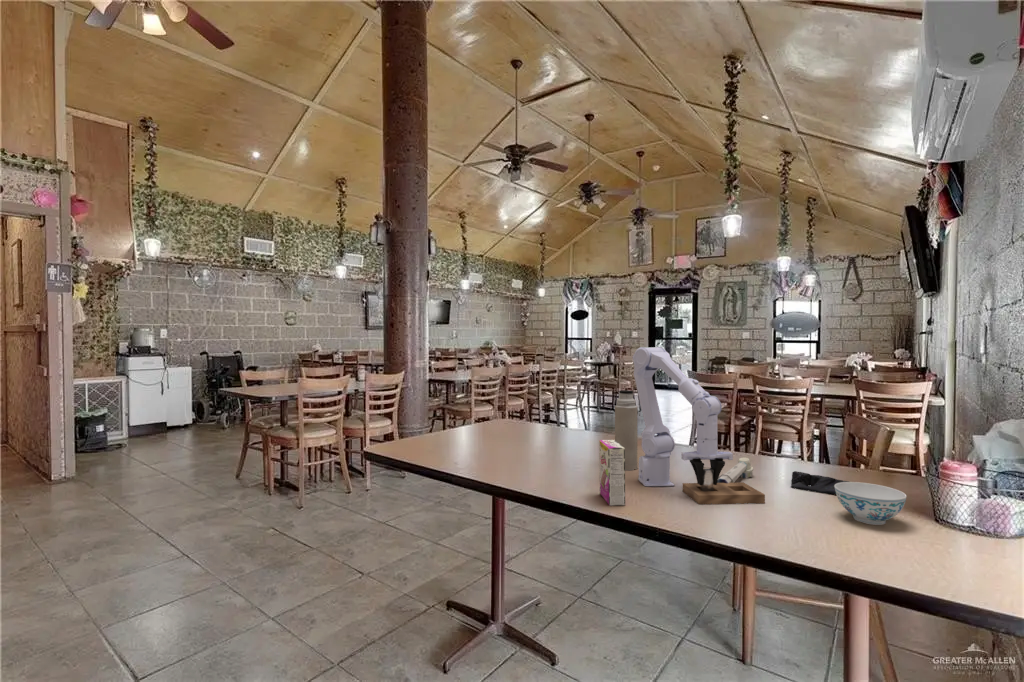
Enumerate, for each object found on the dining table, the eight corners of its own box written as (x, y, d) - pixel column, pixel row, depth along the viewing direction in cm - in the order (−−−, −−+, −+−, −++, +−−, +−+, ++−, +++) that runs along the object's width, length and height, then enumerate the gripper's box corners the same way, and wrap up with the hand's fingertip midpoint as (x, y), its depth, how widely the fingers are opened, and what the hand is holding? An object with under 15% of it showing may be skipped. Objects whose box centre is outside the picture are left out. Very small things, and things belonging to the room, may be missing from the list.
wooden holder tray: (698, 504, 140) (698, 495, 140) (682, 491, 152) (682, 483, 152) (764, 503, 141) (764, 494, 141) (743, 490, 153) (743, 482, 153)
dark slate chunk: (870, 504, 141) (870, 488, 141) (785, 488, 157) (785, 473, 157) (881, 493, 152) (881, 477, 152) (800, 479, 167) (800, 464, 167)
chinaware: (910, 536, 117) (910, 503, 117) (834, 523, 125) (834, 493, 125) (902, 516, 130) (902, 487, 130) (833, 506, 138) (833, 479, 138)
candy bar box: (598, 494, 150) (598, 439, 150) (614, 493, 150) (614, 439, 150) (608, 506, 138) (608, 447, 138) (626, 506, 139) (625, 447, 139)
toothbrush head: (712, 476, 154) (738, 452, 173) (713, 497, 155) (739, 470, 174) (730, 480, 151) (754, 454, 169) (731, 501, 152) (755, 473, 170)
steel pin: (703, 497, 144) (703, 470, 144) (698, 494, 148) (698, 467, 148) (715, 497, 145) (715, 470, 145) (710, 493, 148) (710, 467, 148)
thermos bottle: (616, 464, 186) (616, 389, 186) (638, 465, 183) (638, 389, 183) (613, 469, 178) (613, 391, 178) (636, 471, 176) (636, 391, 176)
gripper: (688, 440, 142) (688, 488, 142) (737, 440, 143) (737, 487, 143) (678, 436, 149) (678, 481, 149) (726, 435, 150) (726, 480, 150)
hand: (706, 484), depth 146 cm, fingers closed on steel pin, 4 cm apart
